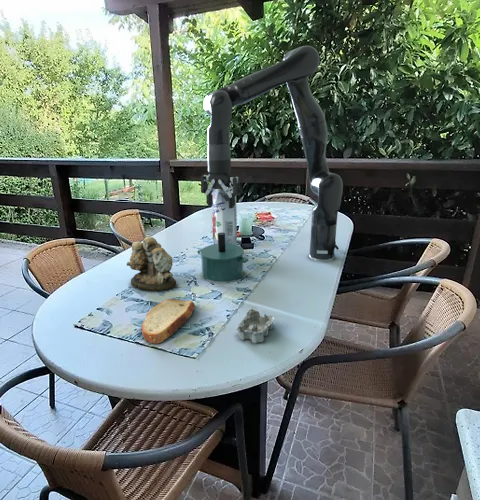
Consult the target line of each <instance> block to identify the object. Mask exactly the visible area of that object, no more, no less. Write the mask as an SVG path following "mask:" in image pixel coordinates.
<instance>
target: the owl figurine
mask: <svg viewBox="0 0 480 500" xmlns="http://www.w3.org/2000/svg"><path fill="white" fill-rule="evenodd" d="M131 250H132V251H131V253H130V258H129V261H127V262H126V266H127V267H129V268H130V269H131V270H134V271H139V272H137V273H135V274H134V275H133V276H132V278H131V279H130V285H131V286H132V287H133V288H135V289H138V290H140V291H143V292H151V293H152V292H157V293H158V292H165V291H167V290H168V291H169V290H172V289H174V288H175V287H176V286H177V280H176V279H175V278H174V277H173V276H174V274H173V272H172V271H171V270H172V267H173V257H172V256H171V255H170V254H169V253H168V252H167V251H166V250H165V249H164V248H163V247H162V244H161V243H159V242H158V241H157V239H156V238H155V237H153V236H149V235H148V236H146V237H144V238H143V240H142V242H141V241H135V242H133V243H132V244H131Z"/></svg>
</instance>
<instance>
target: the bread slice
mask: <svg viewBox="0 0 480 500" xmlns="http://www.w3.org/2000/svg"><path fill="white" fill-rule="evenodd" d="M195 308H196V304H195V303H194V302H193V301H192V300H181V299H177V298H168V299H164V300H163V301H161V302H159V303H158V304H156V305H155V306H153V307H152V308H151V309H150V310H149V311H148V313H147V314H146V315H145V320H144V321H143V322H142V324H141V335H142V337H143V339H144V340H145V341H147V342H148V343H150V344H154V345H155V344H156V345H157V344H161V343H163V342H165V341H166V340H167V339H168V338H170V337H172V335H173V334H175V333H176V332H177V330H179V328H180V327H181V326H183V324H185V323H186V321H187V320H188V319H189V318H191V316H192V314H193V313H194V310H195Z"/></svg>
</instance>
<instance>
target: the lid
mask: <svg viewBox="0 0 480 500" xmlns="http://www.w3.org/2000/svg"><path fill="white" fill-rule="evenodd" d="M200 249H201V251H200V257H201V256H202V257H203V258H206V259H209V260H215V261H226V260H233V259H236V258H239V257H241V256H242V255H243V256H244V254H245V249H244V248H243V247H241V246H239V245H237V244H236V245H232V244H225V233H218V244H215V245H214V244H209V245H208V246H207V245H206V246H204V247H203V248H200Z"/></svg>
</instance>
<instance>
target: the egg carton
mask: <svg viewBox="0 0 480 500" xmlns="http://www.w3.org/2000/svg"><path fill="white" fill-rule="evenodd" d="M274 320H275V316H272V315H267V314H266V313H264V314H263V315H261V314H260V311H258V310H255V309H254V307H251V308H250V309H249V310H248V311H247V313H246V315H245V316H244V317H243V318H242V320H240V322H239V323H238V326H237V328H236V329H235V331H237V333H238V334H237V336H238V337H239V339H240V340H242V341H245V340H250V341H251V342H252V343H254V344H257V343H263V342H264V336H268V335H269V330H272V329H273V327H274V326H273V325H274V324H273V323H274Z"/></svg>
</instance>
